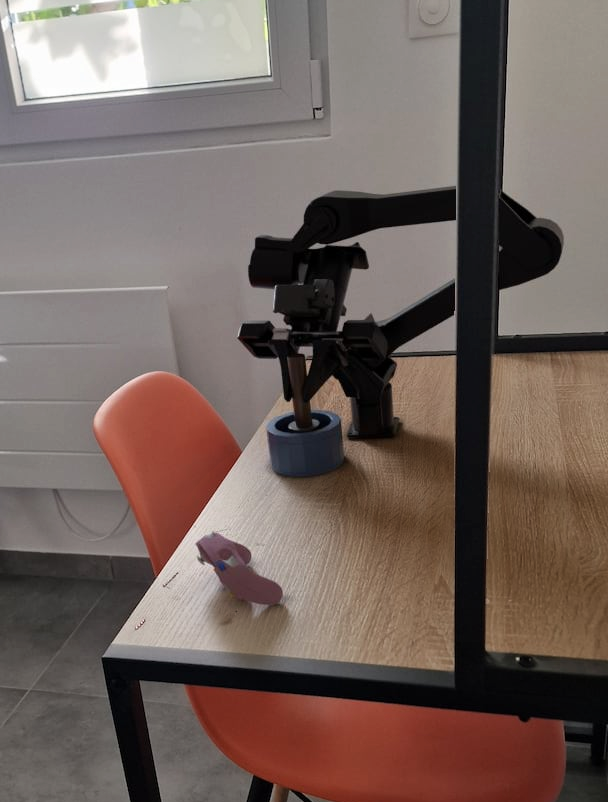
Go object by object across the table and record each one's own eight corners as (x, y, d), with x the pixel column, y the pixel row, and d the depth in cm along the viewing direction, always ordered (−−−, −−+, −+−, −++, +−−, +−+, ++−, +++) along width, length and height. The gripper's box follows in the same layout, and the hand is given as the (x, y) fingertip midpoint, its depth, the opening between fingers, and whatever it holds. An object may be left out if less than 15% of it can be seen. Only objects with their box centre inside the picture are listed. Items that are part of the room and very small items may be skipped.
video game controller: (218, 582, 85) (179, 537, 82) (252, 554, 85) (215, 508, 82) (252, 629, 77) (210, 582, 73) (290, 598, 77) (250, 549, 73)
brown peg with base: (295, 440, 108) (284, 351, 103) (324, 439, 107) (315, 350, 102) (287, 452, 105) (276, 361, 100) (318, 451, 104) (308, 359, 99)
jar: (281, 448, 113) (276, 410, 110) (349, 447, 110) (346, 408, 107) (263, 477, 104) (258, 437, 102) (336, 477, 102) (332, 435, 99)
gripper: (233, 258, 104) (201, 369, 100) (372, 251, 95) (342, 373, 91) (270, 304, 113) (242, 408, 109) (399, 302, 104) (373, 415, 100)
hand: (295, 400), depth 102 cm, fingers closed on brown peg with base, 2 cm apart
